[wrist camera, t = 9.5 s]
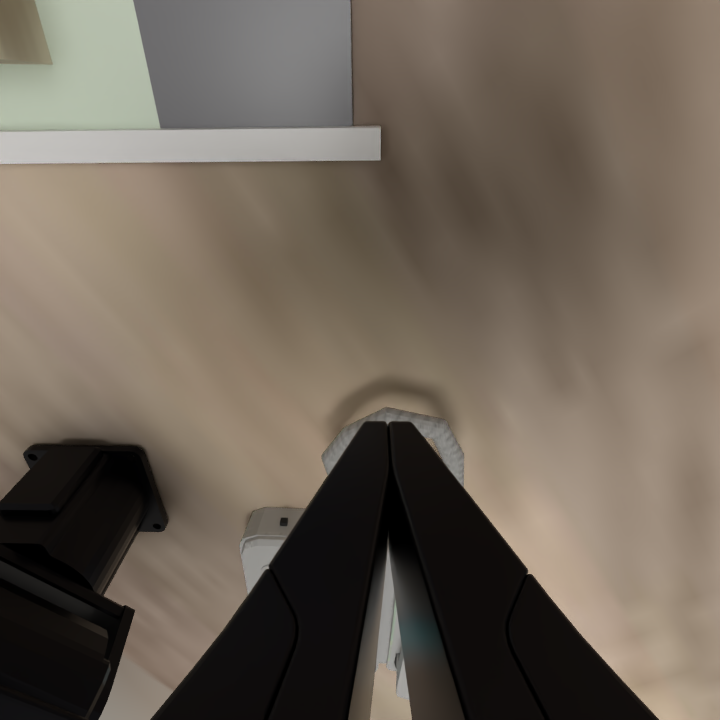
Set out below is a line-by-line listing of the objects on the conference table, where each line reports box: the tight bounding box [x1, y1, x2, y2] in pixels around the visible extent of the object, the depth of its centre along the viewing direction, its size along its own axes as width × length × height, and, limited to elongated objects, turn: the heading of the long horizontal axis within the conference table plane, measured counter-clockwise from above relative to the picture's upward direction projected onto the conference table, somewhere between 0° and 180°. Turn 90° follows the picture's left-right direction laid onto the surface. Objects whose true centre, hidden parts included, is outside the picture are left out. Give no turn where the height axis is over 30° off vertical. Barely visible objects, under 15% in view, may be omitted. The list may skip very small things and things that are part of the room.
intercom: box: [239, 407, 464, 699], centre depth 26 cm, size 13×4×25 cm
